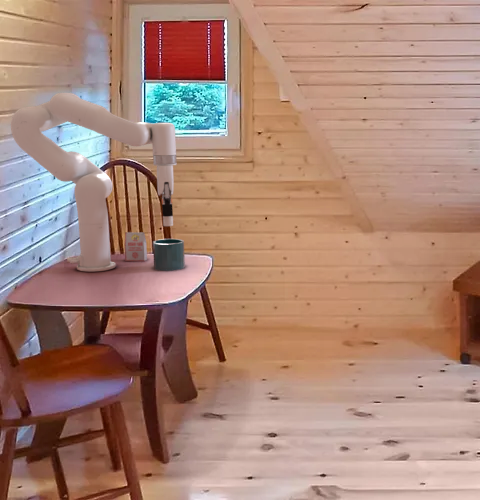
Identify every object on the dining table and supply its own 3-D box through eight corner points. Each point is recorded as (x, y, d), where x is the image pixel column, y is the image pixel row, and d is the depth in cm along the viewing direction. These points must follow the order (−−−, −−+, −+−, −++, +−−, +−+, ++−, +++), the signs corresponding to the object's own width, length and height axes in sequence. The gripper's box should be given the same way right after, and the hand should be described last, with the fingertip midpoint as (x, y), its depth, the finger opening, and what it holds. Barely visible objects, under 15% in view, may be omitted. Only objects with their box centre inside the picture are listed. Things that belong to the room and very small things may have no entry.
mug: (185, 269, 257) (184, 243, 255) (154, 271, 255) (153, 244, 253) (183, 261, 270) (182, 236, 268) (153, 262, 268) (152, 237, 266)
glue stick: (163, 226, 256) (161, 199, 254) (163, 224, 259) (161, 198, 257) (173, 226, 257) (172, 199, 255) (173, 224, 260) (172, 198, 258)
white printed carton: (128, 258, 274) (126, 231, 272) (147, 259, 274) (145, 231, 272) (125, 261, 270) (123, 233, 268) (144, 261, 270) (143, 233, 268)
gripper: (152, 158, 260) (155, 212, 264) (153, 162, 245) (156, 219, 248) (175, 158, 262) (178, 211, 266) (177, 162, 247) (180, 218, 250)
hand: (167, 214), depth 257 cm, fingers closed on glue stick, 3 cm apart
